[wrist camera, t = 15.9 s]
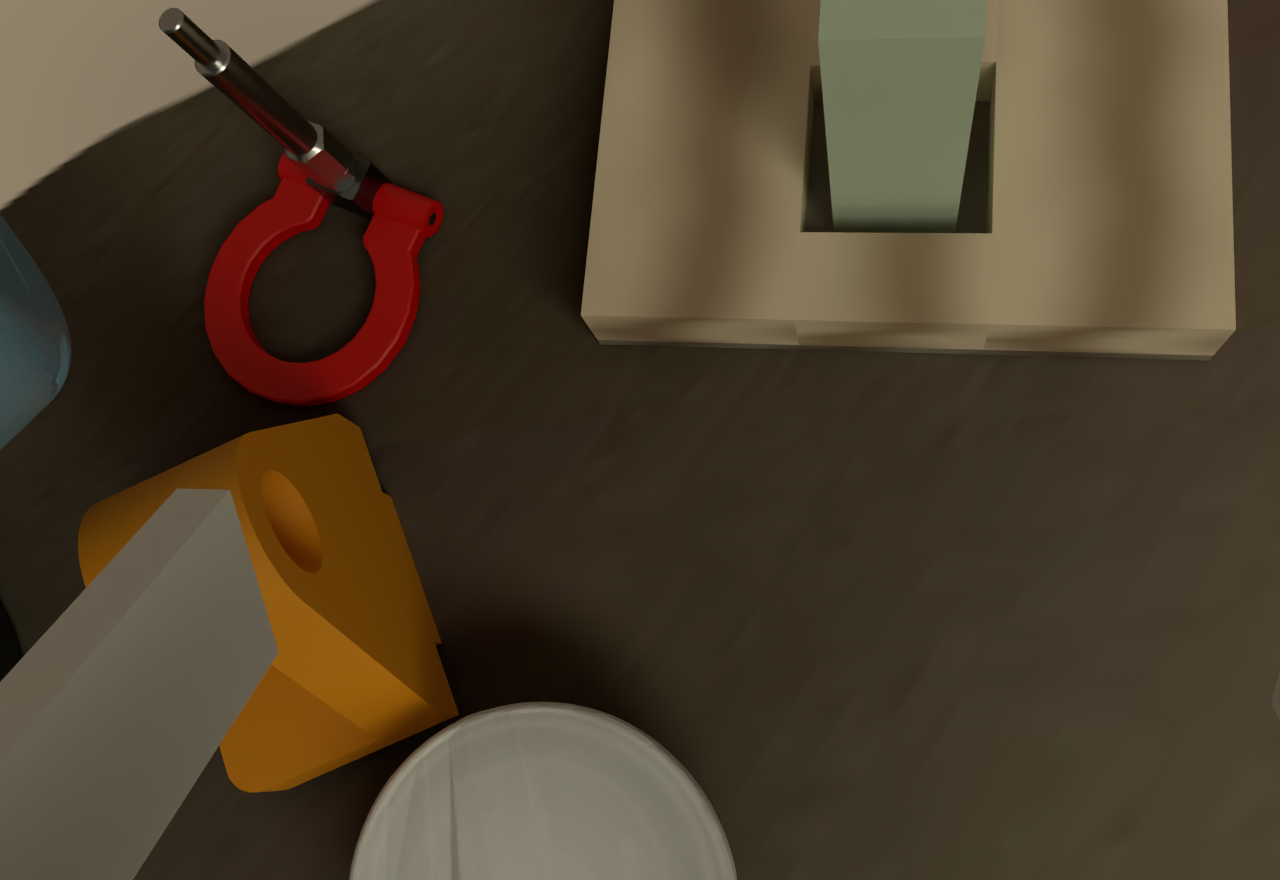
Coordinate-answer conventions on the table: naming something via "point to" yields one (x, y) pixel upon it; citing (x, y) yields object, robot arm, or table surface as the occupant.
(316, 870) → the table surface
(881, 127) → the peg
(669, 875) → the ramekin
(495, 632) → the table surface
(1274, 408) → the table surface
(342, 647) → the bracket
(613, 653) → the table surface
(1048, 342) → the block with square hole
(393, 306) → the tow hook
